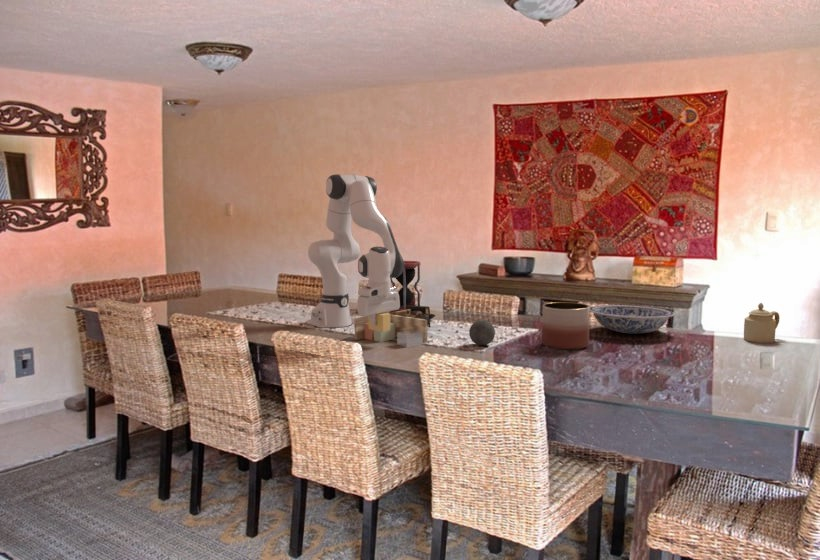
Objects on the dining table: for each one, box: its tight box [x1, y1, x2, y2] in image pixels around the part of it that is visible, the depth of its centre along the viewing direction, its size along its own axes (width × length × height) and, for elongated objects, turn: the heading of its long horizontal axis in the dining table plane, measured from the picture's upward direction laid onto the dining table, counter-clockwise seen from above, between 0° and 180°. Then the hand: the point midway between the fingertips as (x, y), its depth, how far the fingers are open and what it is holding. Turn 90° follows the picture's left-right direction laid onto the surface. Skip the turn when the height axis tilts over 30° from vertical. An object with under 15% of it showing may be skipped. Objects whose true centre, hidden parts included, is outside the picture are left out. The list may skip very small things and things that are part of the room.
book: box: [369, 313, 390, 332], centre depth 258 cm, size 4×8×6 cm, turn 48°
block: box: [396, 330, 424, 348], centre depth 260 cm, size 6×8×5 cm
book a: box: [364, 323, 374, 341], centre depth 272 cm, size 4×8×6 cm, turn 138°
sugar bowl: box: [743, 302, 780, 344], centre depth 263 cm, size 15×11×15 cm
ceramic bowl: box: [589, 304, 676, 335], centre depth 278 cm, size 34×34×10 cm
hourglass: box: [389, 260, 421, 313], centre depth 337 cm, size 16×16×25 cm
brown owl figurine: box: [389, 305, 436, 328], centre depth 287 cm, size 15×11×25 cm
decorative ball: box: [468, 319, 496, 346], centre depth 257 cm, size 10×10×10 cm
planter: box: [541, 301, 590, 351], centre depth 255 cm, size 18×18×16 cm
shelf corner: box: [354, 314, 428, 343], centre depth 266 cm, size 26×15×9 cm, turn 48°
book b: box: [373, 323, 396, 343], centre depth 269 cm, size 4×8×6 cm, turn 138°
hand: (379, 324), depth 258 cm, fingers closed on book, 4 cm apart
